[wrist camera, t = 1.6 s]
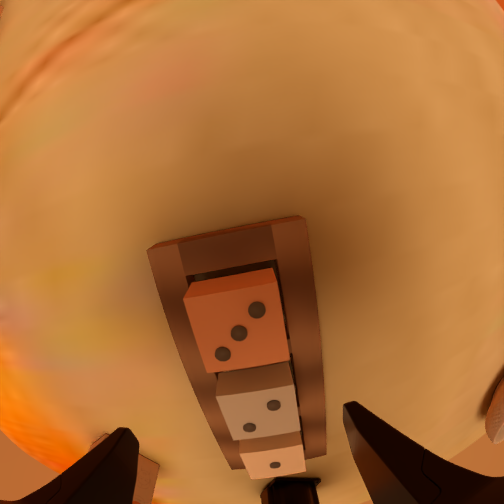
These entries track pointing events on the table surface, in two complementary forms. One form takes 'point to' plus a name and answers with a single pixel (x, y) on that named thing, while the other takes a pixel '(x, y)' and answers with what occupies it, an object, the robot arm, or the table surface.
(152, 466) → the small box
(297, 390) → the tile tray
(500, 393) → the cereal bowl
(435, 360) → the table surface
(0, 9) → the milk
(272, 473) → the tile one pip
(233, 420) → the tile two pip
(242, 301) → the tile three pip
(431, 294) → the table surface
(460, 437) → the table surface
